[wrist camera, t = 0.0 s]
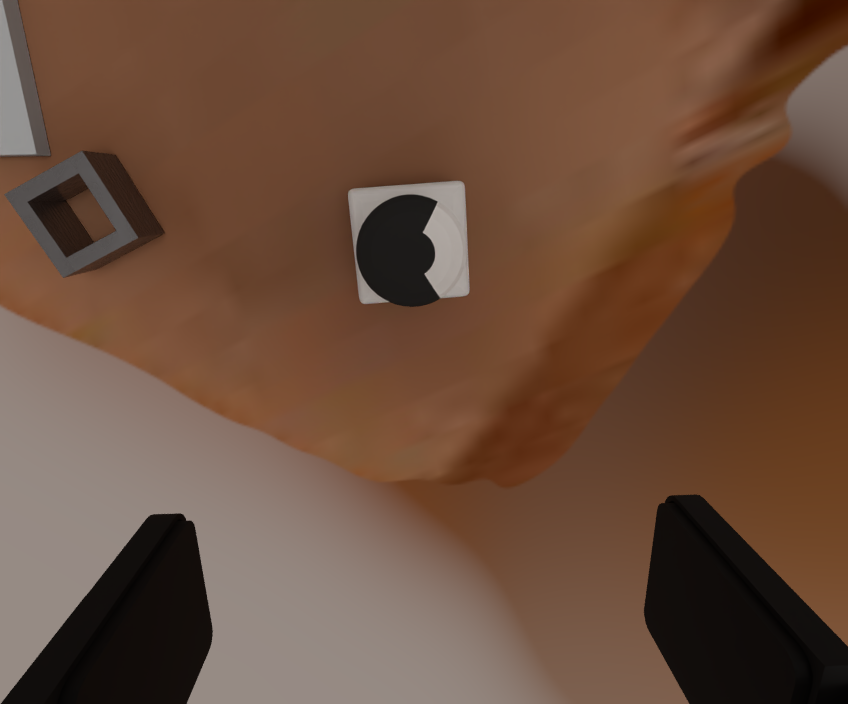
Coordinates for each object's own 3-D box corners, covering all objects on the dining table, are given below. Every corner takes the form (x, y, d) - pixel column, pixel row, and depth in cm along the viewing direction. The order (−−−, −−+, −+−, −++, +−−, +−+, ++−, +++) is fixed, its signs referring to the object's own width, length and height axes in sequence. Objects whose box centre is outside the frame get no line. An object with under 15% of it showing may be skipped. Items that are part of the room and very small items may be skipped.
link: (45, 193, 37) (4, 194, 34) (115, 154, 37) (82, 150, 33) (96, 269, 39) (63, 277, 35) (164, 233, 38) (138, 237, 35)
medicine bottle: (366, 286, 40) (352, 324, 29) (356, 189, 38) (336, 188, 27) (459, 279, 40) (481, 314, 29) (454, 181, 38) (475, 178, 27)
